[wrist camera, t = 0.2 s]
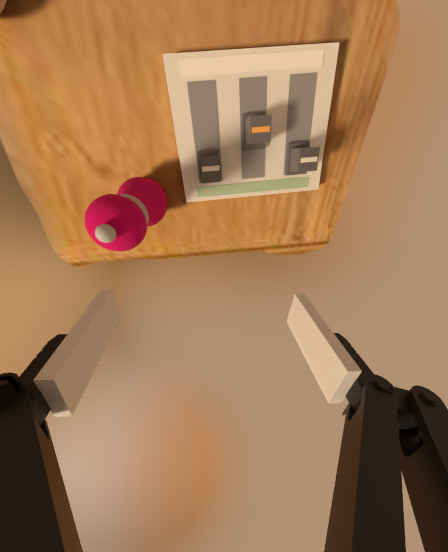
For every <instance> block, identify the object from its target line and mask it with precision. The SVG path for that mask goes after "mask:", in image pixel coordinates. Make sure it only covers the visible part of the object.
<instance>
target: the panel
mask: <svg viewBox="0 0 448 552" xmlns="http://www.w3.org/2000/svg"><path fill="white" fill-rule="evenodd" d="M339 43H340V42H336V43H321V44H305V45H290V46H275V47H260V48H245V49H230V50H215V51H200V52H185V53H170V54H163V60H164V66H165V72H166V78H167V85H168V91H169V97H170V103H171V109H172V116H173V122H174V128H175V134H176V141H177V147H178V153H179V159H180V165H181V172H182V178H183V184H184V190H185V196H186V202H195V201H205V200H216V199H226V198H236V197H246V196H257V195H267V194H277V193H287V192H298V191H308V190H318V188H319V181H320V174H321V167H322V160H323V153H324V147H325V140H326V133H327V126H328V119H329V112H330V105H331V98H332V91H333V84H334V78H335V71H336V64H337V57H338V50H339ZM264 112H266V115H270V114H272V121H271V142H269V143H265V149H257V150H245V151H243V124H242V115H243V114H251V113H264ZM301 142H310V147H319V146H320V151H319V159H318V166H317V171H307V174H298V175H288V176H287V175H286V162H287V148H288V144H290V143H301ZM210 150H219V155H220V164H221V178H222V179H221V182H213V183H202V184H201V177H200V168H199V160H198V151H210Z"/></svg>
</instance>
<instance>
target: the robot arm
mask: <svg viewBox="0 0 448 552" xmlns="http://www.w3.org/2000/svg"><path fill="white" fill-rule="evenodd" d="M118 322H119V317H118V312H117V307H116V302H115V297H114V292H113V290H100V292H99V293H98V294H97V296H96V297H95V298H94V300H93V301H92V302H91V304H90V305H89V306H88V308H87V309H86V310H85V312H84V313H83V315H82V316H81V317H80V319H79V320H78V321H77V323H76V324H75V325H74V326H73V328H72V329H71V330H70V332H69V333H68V334H58V335H57V336H56V337H54V338H53V339H51V340H50V341H48V343H47V344H46V345H45V347H44V348H43V349H42V351H41V352H39V354H38V355H37V356H36V358H34V360H33V361H32V362H31V363H30V365H29V366H28V367H27V369H25V371H24V372H23V373H22V374H21V376H20V377H18V376H17V374H15V373H4V374H0V552H83V551H82V547H81V544H80V540H79V537H78V533H77V529H76V526H75V522H74V519H73V515H72V511H71V508H70V504H69V500H68V497H67V494H66V490H65V486H64V482H63V479H62V475H61V472H60V468H59V465H58V461H57V457H56V454H55V450H54V446H53V443H52V439H51V436H50V432H49V429H48V425H47V422H46V420H45V418H46V416H47V415H48V413H49V411H50V410H51V412H52V414H53V416H54V417H60V416H72V414H73V412H74V410H75V409H76V406H77V405H78V403H79V400H80V398H81V396H82V394H83V392H84V390H85V388H86V386H87V384H88V382H89V380H90V378H91V376H92V374H93V372H94V370H95V368H96V366H97V364H98V362H99V360H100V358H101V356H102V354H103V352H104V350H105V348H106V346H107V344H108V342H109V340H110V338H111V336H112V334H113V332H114V330H115V328H116V326H117V324H118ZM287 323H288V325H289V327H290V329H291V331H292V333H293V335H294V337H295V339H296V341H297V343H298V345H299V347H300V349H301V351H302V353H303V354H304V357H305V358H306V360H307V362H308V364H309V366H310V368H311V370H312V372H313V374H314V376H315V378H316V380H317V382H318V384H319V386H320V388H321V390H322V391H323V393H324V395H325V397H326V399H327V401H328V403H329V404H331V403H342V401H343V400H344V398H345V397H346V398H347V400H348V401H349V404H348V406H347V407H346V409H345V410H344V412H343V415H345V414H346V418H345V425H344V430H343V437H342V443H341V450H340V456H339V462H338V468H337V474H336V481H335V487H334V493H333V500H332V506H331V512H330V518H329V525H328V531H327V537H326V544H325V550H324V552H406V548H405V532H404V531H405V529H404V512H403V494H402V478H401V470H402V474H403V477H404V481H405V484H406V487H407V491H408V494H409V498H410V501H411V505H412V508H413V512H414V515H415V519H416V522H417V525H418V529H419V532H420V536H421V539H422V543H423V546H424V550H425V552H448V409H447V408H446V406H445V404H444V403H443V402H442V400H441V399H440V398H439V397H438V396H437V395H436V394H435V393H433V392H432V391H430V390H429V389H427V388H424V387H422V386H413V387H412V388H411V389H410V390H409V391H408V390H404V389H400V388H397V387H393V385H392V384H391V383H390V382H388V381H387V380H386V379H384V378H383V377H381V376H378V375H374V374H373V372H372V371H371V370H370V369H369V367H368V366H367V365H366V364H365V362H364V361H363V360H362V359H361V357H360V356H359V355H358V353H356V351H355V350H354V348H353V347H352V346H351V345H350V343H349V342H348V341H347V340H346V339H345V338H344V337H343V336H341V335H340V334H339V333H333V332H332V331H331V329H330V328H329V327H328V325H327V324H326V323H325V321H324V320H323V319H322V317H321V316H320V315H319V313H318V312H317V310H316V309H315V308H314V306H313V305H312V304H311V302H310V301H309V300H308V298H307V297H306V296H305V295H304V294H295V296H294V299H293V302H292V306H291V309H290V312H289V315H288V318H287Z"/></svg>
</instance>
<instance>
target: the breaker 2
mask: <svg viewBox="0 0 448 552" xmlns="http://www.w3.org/2000/svg"><path fill="white" fill-rule="evenodd" d="M319 151H320V146H319V147H310V142H301V143H290V144H288V148H287V162H286V175H287V176H288V175H298V174H307V171H317V166H318V159H319Z"/></svg>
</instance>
